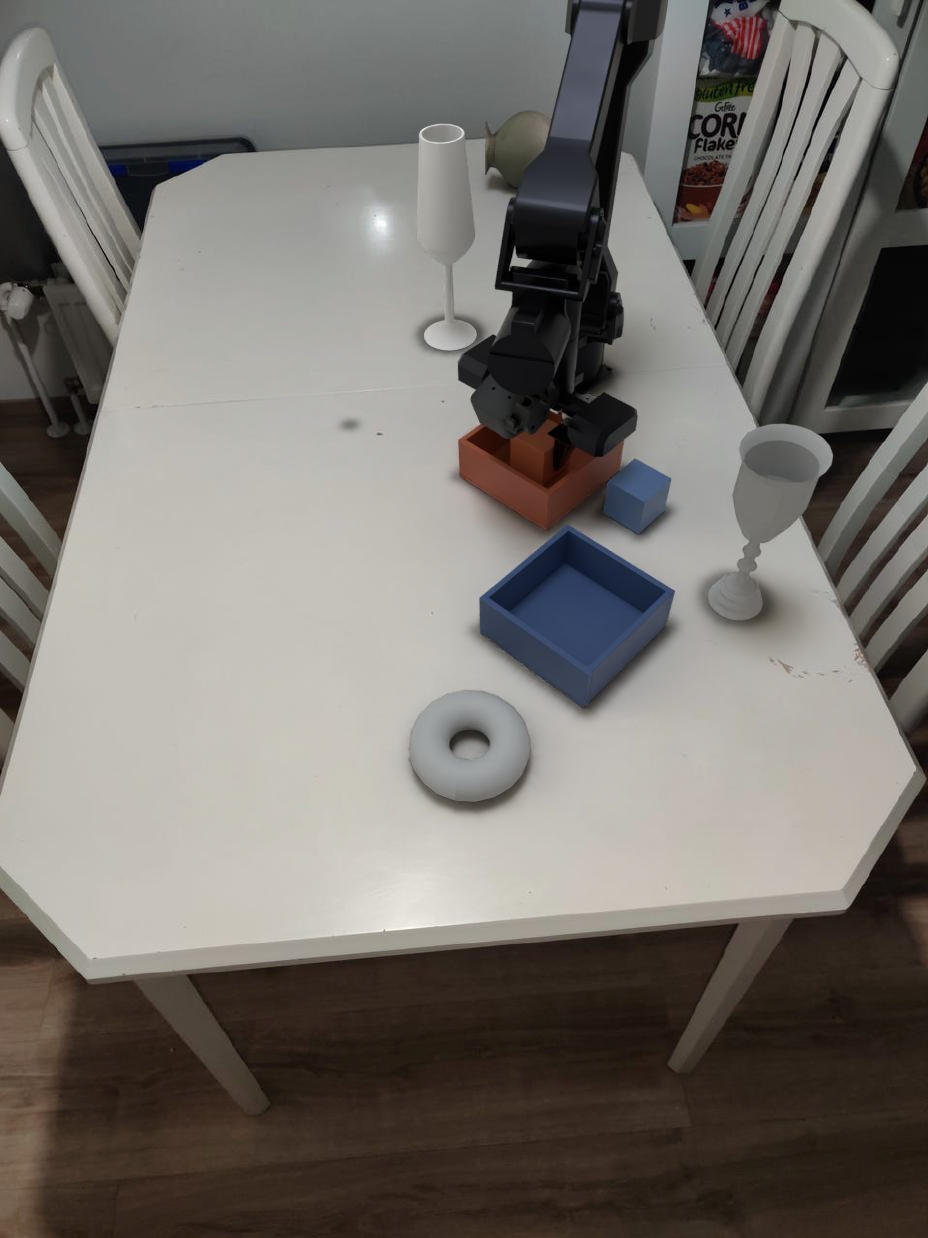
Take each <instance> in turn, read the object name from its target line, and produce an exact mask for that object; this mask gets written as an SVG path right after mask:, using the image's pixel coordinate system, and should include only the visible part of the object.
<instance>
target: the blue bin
mask: <svg viewBox="0 0 928 1238" xmlns="http://www.w3.org/2000/svg"><path fill="white" fill-rule="evenodd" d="M675 594H676V590H675V589H673V588H671V587H670V586H669V585H667V584H665V583H664V582H661V581H660V580H659V579H657V578H656V577H654V576H652V575H651V574H648V572H645V571H644V570H642V569H641V568H639V567H637V566H636V565H635V564H633V563H631V562H629V561H628V560H626V559H624V558H623V557H621V556H619V555H618V554H617V553H615V552H613V551H611V550H610V549H608V548H607V547H606V546H603V545H602V544H600V543H599V542H597V541H595V540H594V539H592V538H590V537H589V536H588V535H586V534H584V533H583V532H582V531H580V530H578V529H576V528H574V527H573V526H571V525H570V524H568V523H567V524H566V525H565V526H563V528H561V529H560V530H558V532H556V533H555V534H554V535H553V536H552V537H550V538H549V539H548V540H547V541H546V542H545V543H543V544H542V545H541V546H540V547H539V548H537V549H536V550H535V551H534V552H533V553H531V554H530V555H529V556H528V557H527V558H525V559H524V560H523V561H522V562H520V563H519V564H518V565H517V566H515V567H514V568H513V569H512V570H511V571H510V572H508V573H507V574H506V575H505V576H504V577H502V578H501V580H499V581H498V582H497V583H495V584H494V585H493V586H492V587H491V588H489V589H488V590H487V591H486V592H484V593H483V594H482V595H481V596H480V597H479V598H478V600H479V601H478V602H479V603H478V604H479V605H478V606H479V607H478V608H479V633H480V634H482V635H483V636H484V637H486V638H487V639H488V640H490V641H491V642H492V643H494V644H495V645H496V646H498V648H499V647H500V649H502V650H504V651H505V652H506V653H508V654H509V655H510V656H512V657H513V658H515V659H516V660H517V661H519V662H520V663H521V664H523V665H524V666H525V667H526V668H528V669H530V670H531V671H532V672H534V673H535V674H537V676H539V677H540V678H542V679H543V680H545V682H547V683H548V684H550V685H551V686H552V687H554V688H555V689H556V690H558V691H559V692H561V693H562V694H564V696H566V697H567V698H569V699H570V700H571V701H573V702H574V703H575V704H577V705H579V706H580V707H581V708H583V709H584V708H585V707H586V706H588V704H589V703H590V702H592V700H593V699H594V698H595V697H596V696H597V695H598V694H599V693H600V692H601V691H603V690H604V688H606V687H607V685H608V684H609V683H610V682H612V681H613V679H615V677H617V676H618V674H619V673H621V671H623V669H624V668H625V667H627V666H628V664H630V663H631V662H632V660H634V659H635V658H636V657H637V655H639V654H640V653H641V652H642V651H643V650H644V649H645V648H646V646H648V645H649V644H650V643H651V642H652V641H653V640H654V639H655V637H657V636H658V635H659V634H660V633H661V632H662V631H663V630H664V629H665V628H666V627H667V625H668V621H669V617H670V613H671V609H672V606H673V602H674V598H675Z"/></svg>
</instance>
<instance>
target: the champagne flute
mask: <svg viewBox="0 0 928 1238" xmlns="http://www.w3.org/2000/svg"><path fill="white" fill-rule="evenodd" d="M466 143H467V142H466V135H465V130H464V129H463V128H461V127H460V126H459V125H455V124H452V123H437V124H436V123H435V124H431V125H428V126H426V127H424V128H422V129H421V130H420V131H419V133H418V163H417V164H418V166H417V167H418V168H417V202H416V203H417V204H416V205H417V206H416V207H417V209H416V211H417V212H416V240H417V243H418V244H419V245H420V247H421V249H422V250H423V252H424V253H425V254H426V255H427V256H429V258H431V259H433V260H434V261H435V262H437V263H438V264H441V266H442V288H443V306H444V308H443V310H444V319H442V320H439V321H437V322H433V323H432V324H430V325H429V326H428V327H427V328H426V329H425V331H424V334H423V338H424V341H425V342H426V343H427V344H428V345H429V346H430V347H432V348H434V349H437V350H440V351H458V350H462V349H464V348H468V347H469V346H470V345H472V344H473V343H474V342H475V341H476V340H477V339H476V338H477V330H476V328H475V327H474V326H473V325H472V324H471V323H469V322H466V321H463V320H459V319H455V305H454V303H455V300H454V298H455V297H454V296H455V295H454V272H453V264H455V263H457V262H458V261H459V260H461V259H462V257H463V256H465V255H466V254H467V253H468V251H470V249H471V247H472V246H473V243H474V242H475V239H476V227H475V217H474V208H473V198H472V189H471V180H470V173H469V164H468V163H469V162H468V153H467V144H466Z"/></svg>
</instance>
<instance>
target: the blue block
mask: <svg viewBox="0 0 928 1238" xmlns="http://www.w3.org/2000/svg"><path fill="white" fill-rule="evenodd" d="M671 484H672V478H671V477H670V476H667V475H666V474H665V473H662V472H661V471H660V470H657V469H655V468H654V467H652V466H650V465H648V464H646V463H644V462H643V461H641V460H639V459H637V458H633V459H632V460H631V461H630V462H629V463H627V464H626V465H625V466H624V467H623V468H620V470H619V471H618V472H617V473H616V474H615V475H613V476H612V477H611V478H610V479H608V480H607V483H606V491H605V496H604V503H603V504H604V505H603V511H602V512H603V514H604V515H605V516H607V517H609V518H610V519H612V520H614V521H616V522H617V523H619V524H621V525H622V526H624V527H625V528H627V529H629V530H630V531H632V532H634V533H636V534H637V535H640V534H641V533H642V532H643V531H644V530H646V528H647V527H648V526H650V525H651V524H652V523H653V522H654V521H655V520H656V519H657V518H659V516H661V515H662V514H663V513H664V512H665V511H666V507H667V501H668V498H669V497H668V496H669V492H670V487H671Z"/></svg>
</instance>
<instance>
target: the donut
mask: <svg viewBox="0 0 928 1238" xmlns="http://www.w3.org/2000/svg"><path fill="white" fill-rule="evenodd" d="M466 730H471V731H477V732H480V733H482V734H483V735H485V737H486V738H487V739H488V741H489V747H488V750H486V752H485V753H484V754H483V755H481V756H479V757H477V758H472V759H469V758H468V759H467V758H462V757H459V756H457V755H456V754H454V753H453V751H452V750H451V746H450V742H451V740H452V738H453V737H454V736H455V735H456V734H458V733H460V732H462V731H466ZM408 753H409V758H410V762H411V766H412V768H413V769H414V771H415V773H416V774H417V776H418V777H419V779H420V780H421V782H422V783H423V784H424V785H425V786H427V787H428V788H429V789H430V790H432V791H433V792H434V793H436V794H437V795H439V796H442V797H445V798H447V799H450V800H452V801H455V802H473V803H474V802H480V801H484V800H489V799H492V798H495V797H497V796H499V795H501V794H502V793H503V792H506V791H508V790H509V789H511V788H512V787H513V785H514V784H515V783H516V782H517V781H518V780H519V779H520V778H521V776H523V774H524V771H525V769H526V766H527V764H528V761H529V759H530V757H531V735H530V733H529V729H528V726H527V724H526V721H525V719H524V718H523V716H522V715H521V714H520V712H519V711H518V710H517V708H515V706H514V705H512V704H511V703H509V702H508V701H506V699H503V698H502V697H500V696H499V695H496V694H493V693H490V692H487V691H484V690H478V689H477V690H476V689H462V690H457V691H452V692H448V693H446V694H444V695H442V696H440V697H438V698H436V699H435V700H433V701H431V702H430V703H429V704H428V705H427V706H426V707H425V708H424V709H422V711H421V712H420V713H418V715H417V717H416V719H415V721H414V723H413V725H412V727H411V729H410V734H409V742H408Z"/></svg>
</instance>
